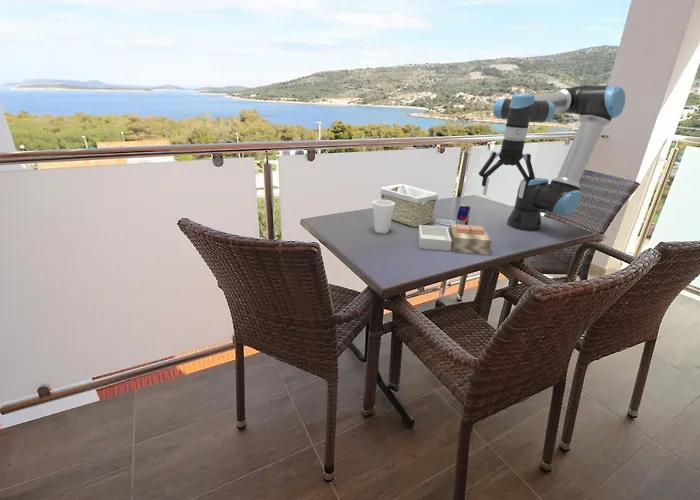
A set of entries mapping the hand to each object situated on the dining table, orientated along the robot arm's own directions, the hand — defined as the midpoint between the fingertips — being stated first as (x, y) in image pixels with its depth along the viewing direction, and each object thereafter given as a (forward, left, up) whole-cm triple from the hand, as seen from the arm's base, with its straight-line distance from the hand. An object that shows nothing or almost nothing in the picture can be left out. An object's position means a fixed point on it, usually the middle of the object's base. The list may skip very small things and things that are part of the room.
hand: (502, 196), depth 145 cm
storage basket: (+35, -29, -22) cm, 50 cm away
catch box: (+24, 0, -22) cm, 32 cm away
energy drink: (+10, -19, -22) cm, 30 cm away
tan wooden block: (+10, 0, -22) cm, 24 cm away
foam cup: (+46, -9, -22) cm, 51 cm away
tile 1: (+13, 0, -16) cm, 20 cm away
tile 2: (+7, 0, -16) cm, 17 cm away
